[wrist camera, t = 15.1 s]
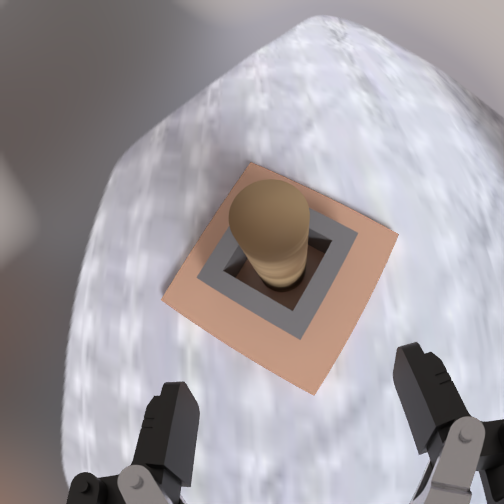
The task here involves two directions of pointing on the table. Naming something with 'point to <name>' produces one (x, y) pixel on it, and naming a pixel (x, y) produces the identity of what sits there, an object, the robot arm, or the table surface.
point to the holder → (291, 302)
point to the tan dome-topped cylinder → (272, 231)
